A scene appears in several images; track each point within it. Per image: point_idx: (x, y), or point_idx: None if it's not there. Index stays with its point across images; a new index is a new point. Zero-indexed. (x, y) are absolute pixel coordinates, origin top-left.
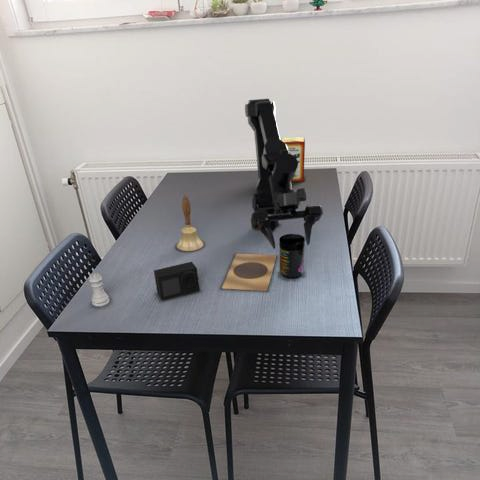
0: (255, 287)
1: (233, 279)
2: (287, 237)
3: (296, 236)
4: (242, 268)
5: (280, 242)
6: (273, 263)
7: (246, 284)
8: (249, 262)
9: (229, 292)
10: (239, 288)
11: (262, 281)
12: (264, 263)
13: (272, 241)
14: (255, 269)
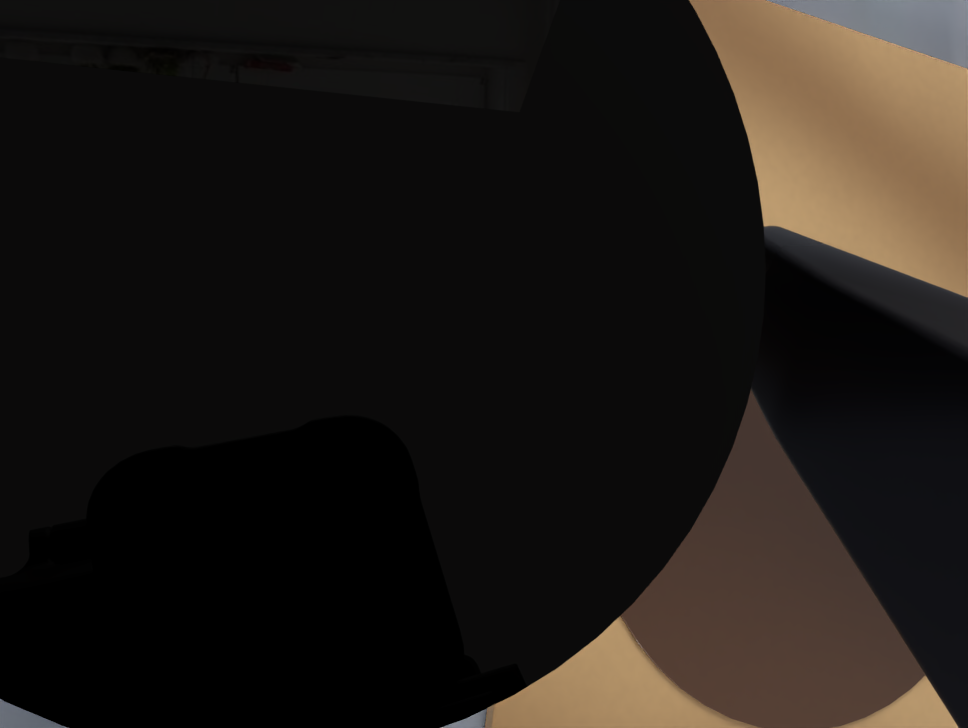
0: (726, 22)
1: (966, 256)
2: (489, 397)
3: (101, 461)
4: None
5: (710, 91)
6: (504, 708)
7: (827, 112)
8: (833, 721)
9: (961, 11)
10: (887, 42)
11: None
12: (635, 701)
13: (902, 283)
14: (749, 500)
